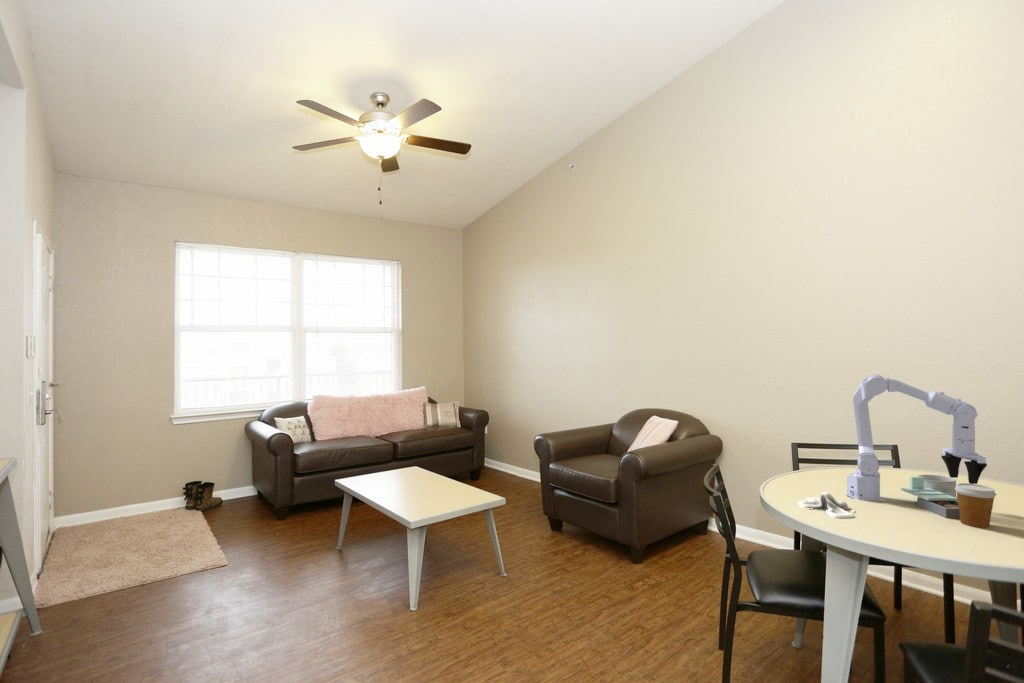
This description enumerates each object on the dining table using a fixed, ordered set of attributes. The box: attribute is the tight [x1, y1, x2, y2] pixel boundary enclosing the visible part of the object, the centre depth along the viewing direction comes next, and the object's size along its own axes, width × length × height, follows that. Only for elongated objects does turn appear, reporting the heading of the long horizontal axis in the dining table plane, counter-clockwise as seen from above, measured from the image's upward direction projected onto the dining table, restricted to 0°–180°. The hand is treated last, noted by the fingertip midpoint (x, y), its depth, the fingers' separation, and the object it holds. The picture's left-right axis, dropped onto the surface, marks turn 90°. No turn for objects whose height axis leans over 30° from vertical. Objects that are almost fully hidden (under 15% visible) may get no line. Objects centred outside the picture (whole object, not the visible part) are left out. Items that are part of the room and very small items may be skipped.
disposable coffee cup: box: [955, 482, 997, 529], centre depth 161 cm, size 10×10×12 cm
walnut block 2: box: [944, 504, 959, 508], centre depth 170 cm, size 4×4×3 cm
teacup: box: [916, 474, 957, 497], centre depth 189 cm, size 14×11×8 cm
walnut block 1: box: [932, 501, 950, 507], centre depth 175 cm, size 4×4×3 cm
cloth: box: [797, 491, 857, 519], centre depth 178 cm, size 22×19×6 cm
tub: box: [916, 496, 960, 519], centre depth 173 cm, size 12×10×4 cm
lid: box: [900, 476, 958, 501], centre depth 180 cm, size 12×10×5 cm
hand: (963, 480), depth 174 cm, fingers open, 7 cm apart
